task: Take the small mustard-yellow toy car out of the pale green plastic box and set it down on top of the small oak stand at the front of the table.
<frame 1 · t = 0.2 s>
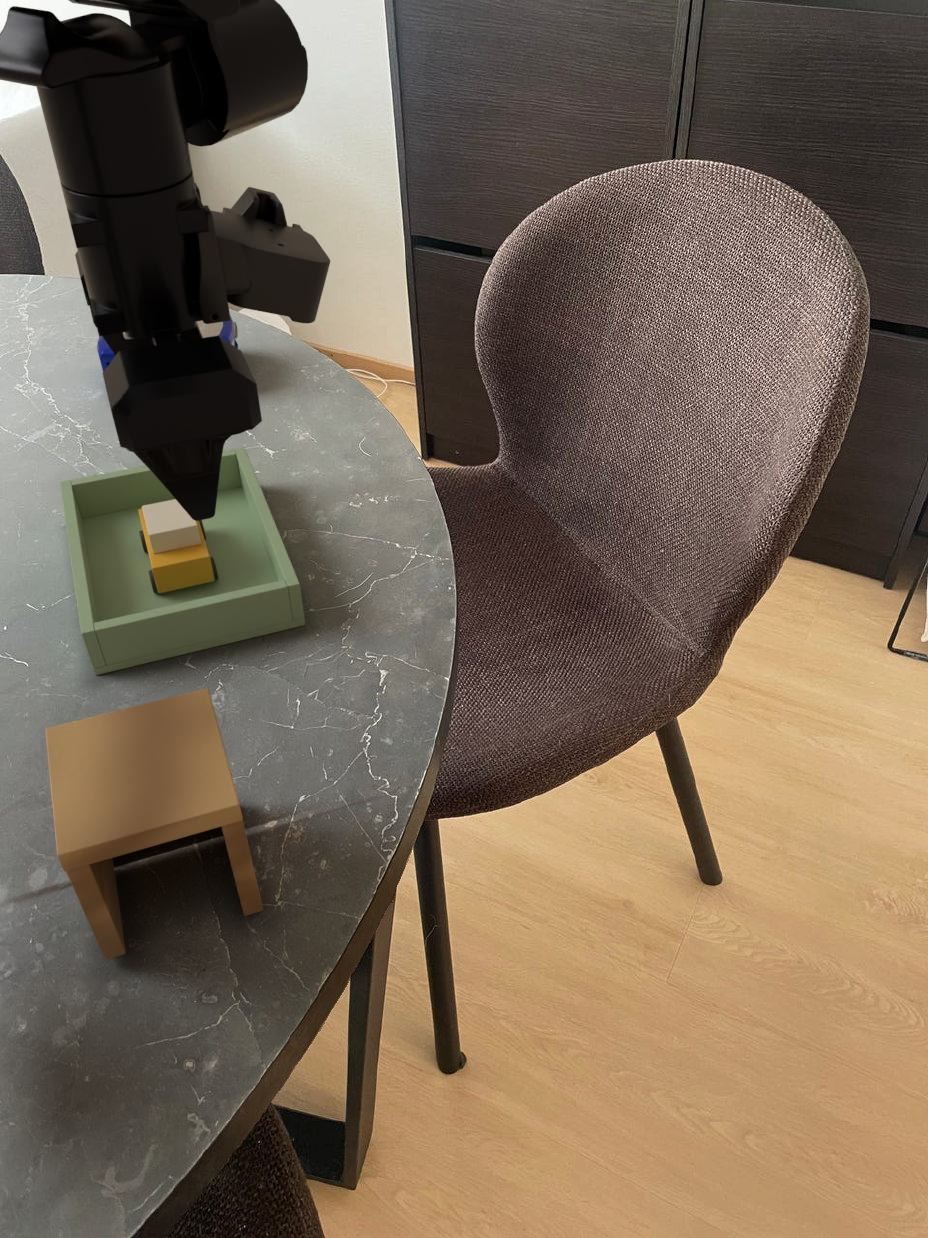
hand: (189, 471, 55), 14 cm above the table, tool pointing down, fingers open, 9 cm apart
green box: (181, 570, 71), on the table
oak stand: (138, 764, 46), on the table
toy car: (175, 378, 93), on the table
small car: (180, 563, 71), point 1 cm above the table, touching green box
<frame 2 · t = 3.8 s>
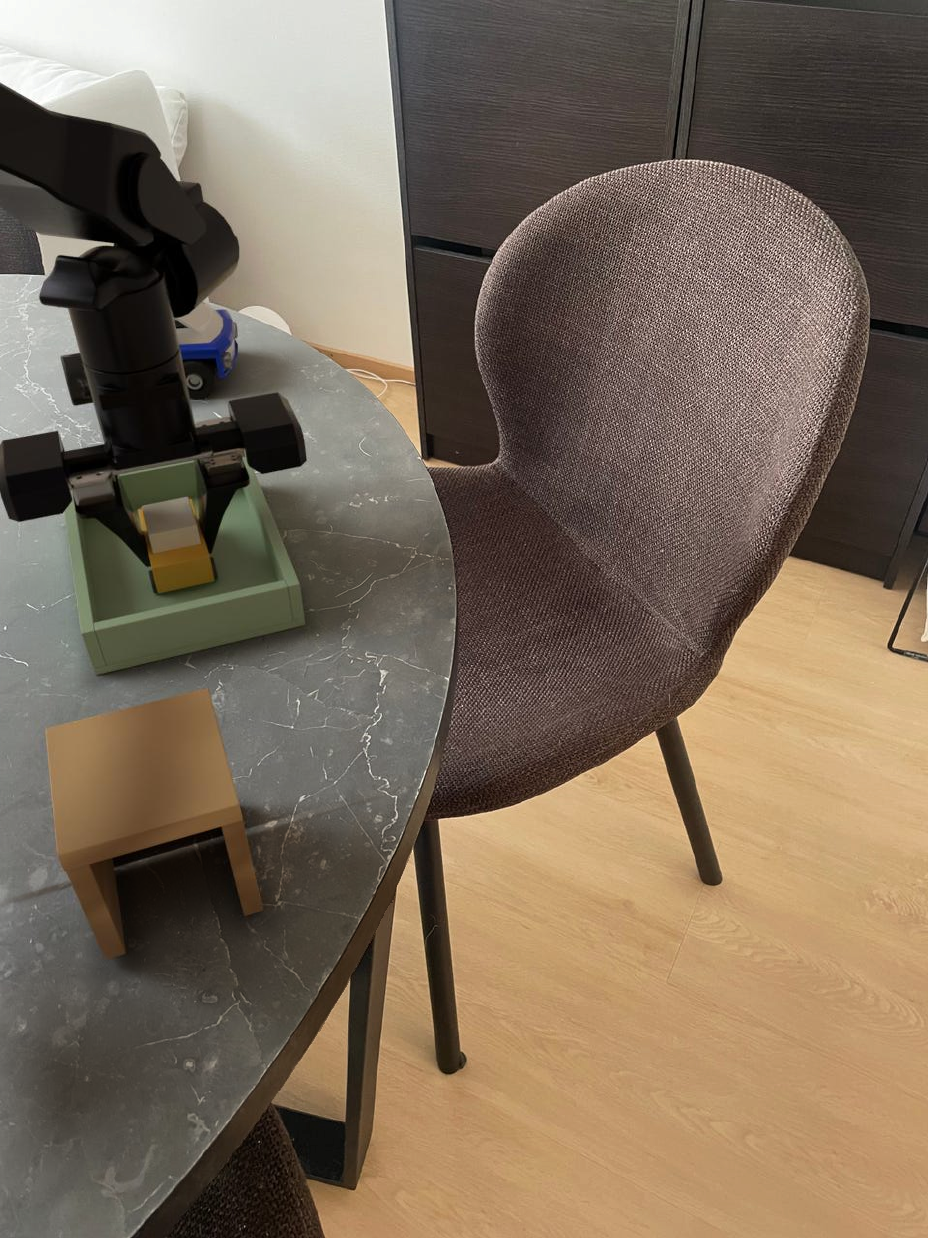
hand: (178, 556, 71), 1 cm above the table, tool pointing down, fingers closed on small car, 4 cm apart
small car: (180, 563, 71), point 1 cm above the table, touching green box, gripper
everything else where it was.
when the fingers open (10 cm above the table, at t = 8.0 s): small car stays where it is, resting on oak stand.
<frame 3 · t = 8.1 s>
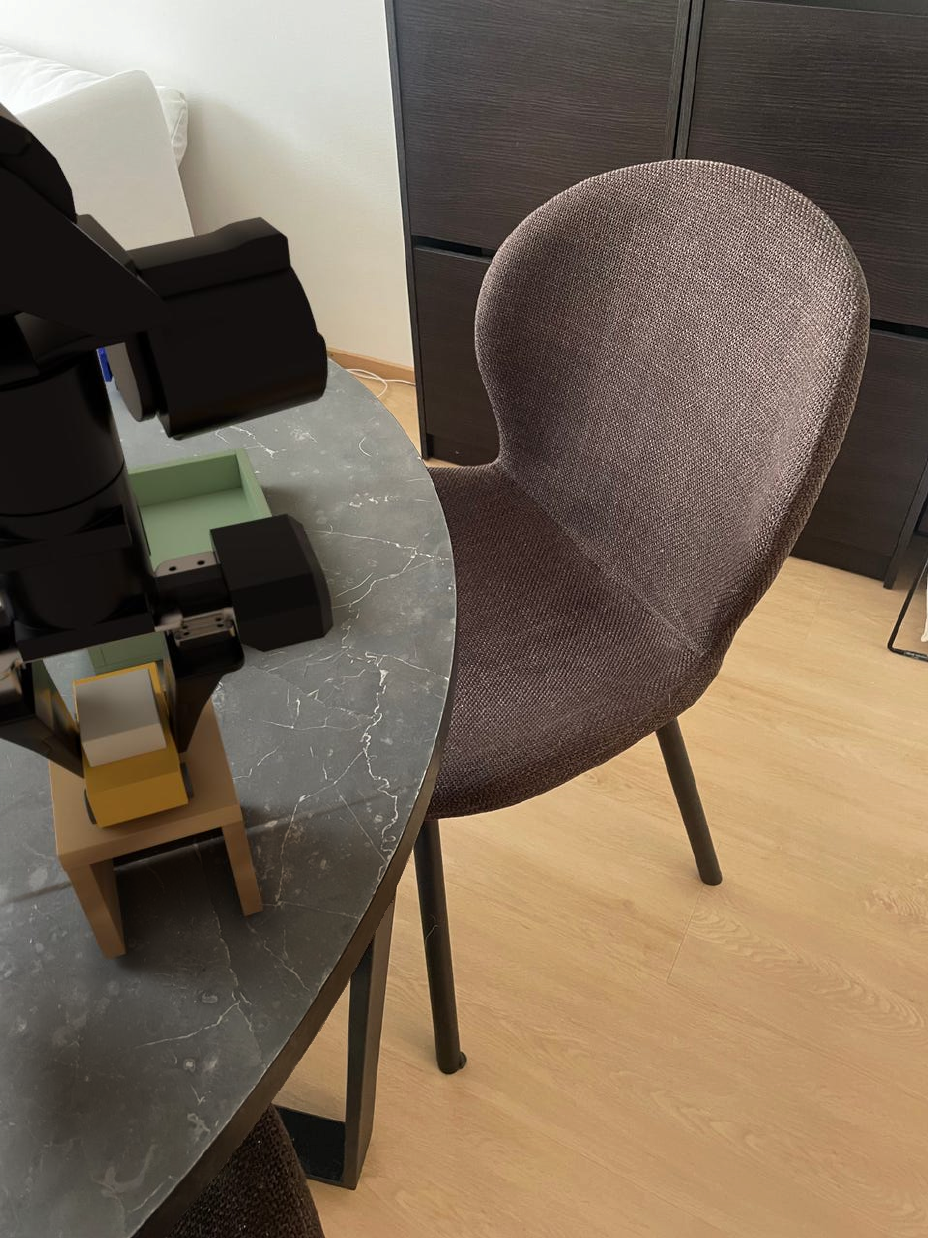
hand: (134, 758, 46), 10 cm above the table, tool pointing down, fingers open, 4 cm apart
small car: (136, 765, 46), point 9 cm above the table, touching oak stand
everything else where it was.
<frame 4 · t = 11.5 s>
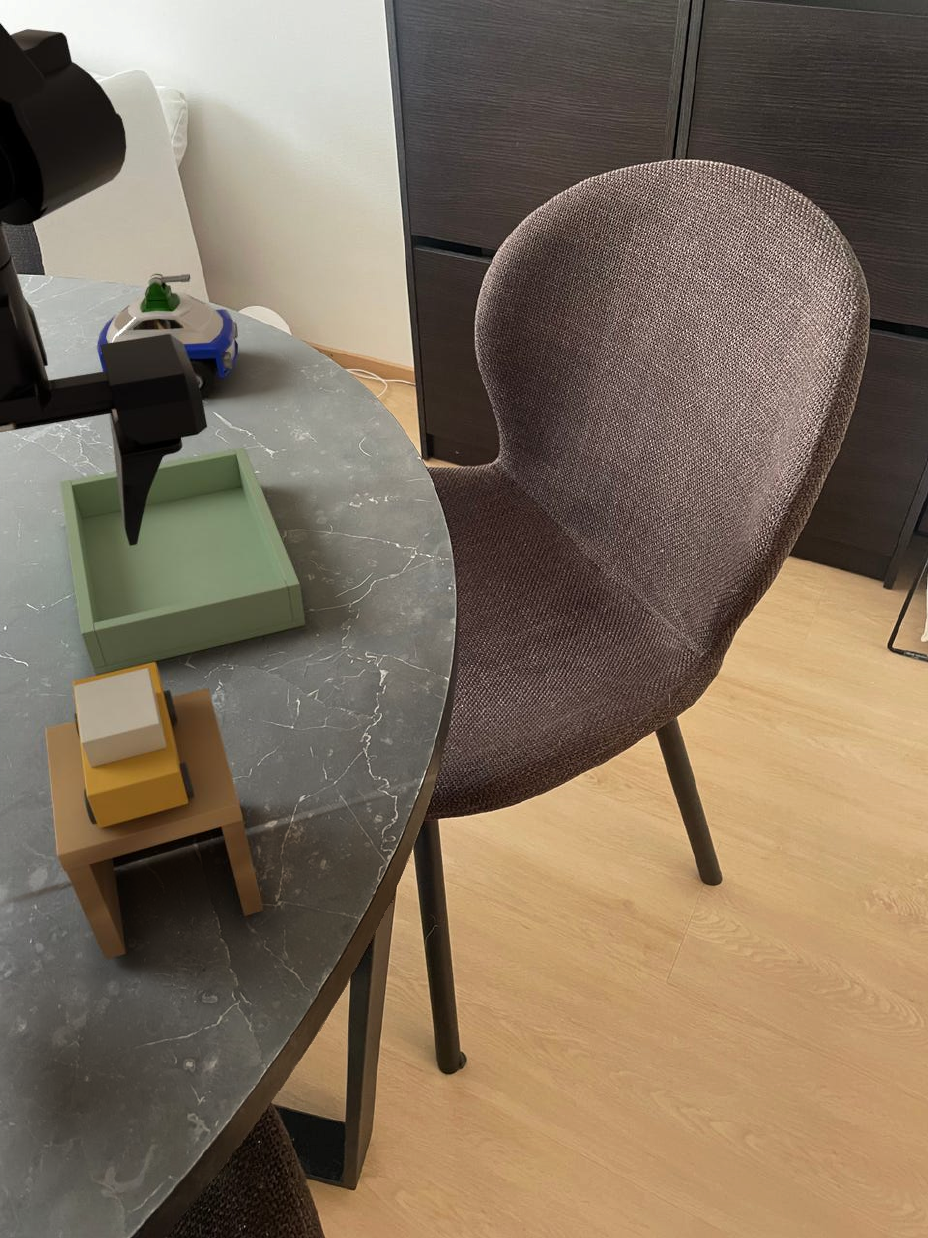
hand: (41, 559, 52), 12 cm above the table, tool pointing down, fingers open, 9 cm apart
nothing on the table moved.
at the end: small car inside the target area on the oak stand (0.1 cm from its centre), point 0.0 cm above the oak stand's base; small car tilted 0° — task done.
